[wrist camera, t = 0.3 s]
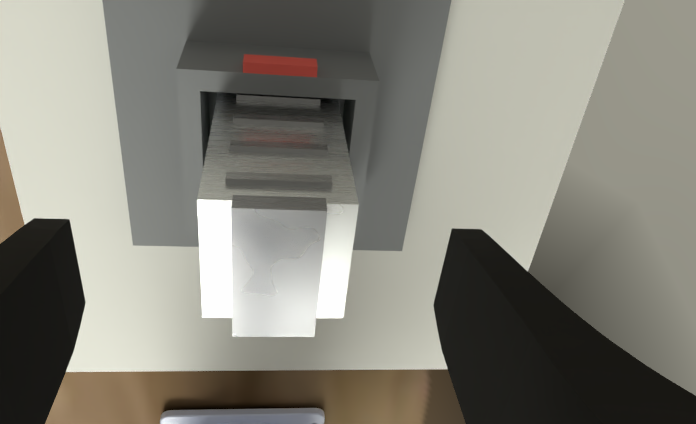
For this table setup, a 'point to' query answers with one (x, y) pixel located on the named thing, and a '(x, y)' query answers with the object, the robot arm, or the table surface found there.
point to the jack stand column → (276, 214)
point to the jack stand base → (301, 81)
